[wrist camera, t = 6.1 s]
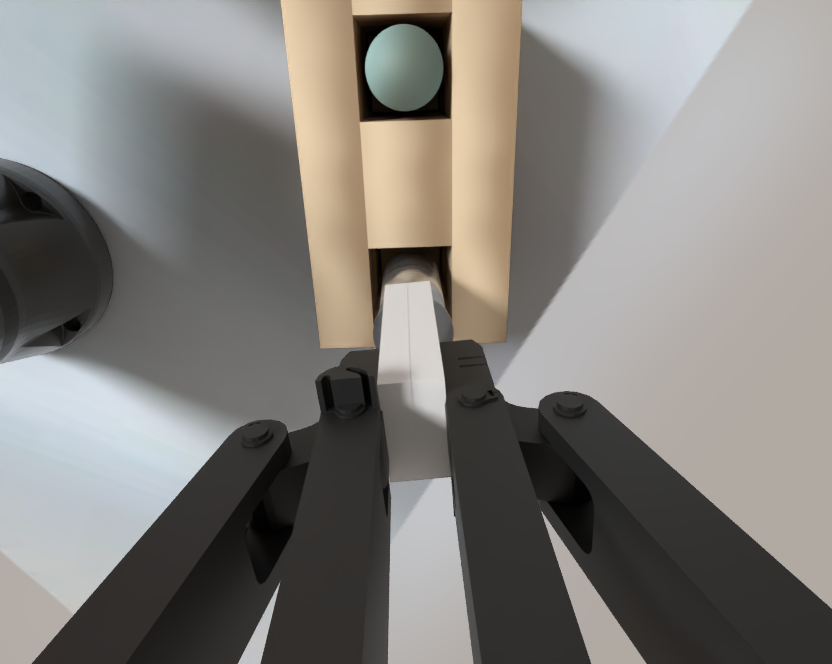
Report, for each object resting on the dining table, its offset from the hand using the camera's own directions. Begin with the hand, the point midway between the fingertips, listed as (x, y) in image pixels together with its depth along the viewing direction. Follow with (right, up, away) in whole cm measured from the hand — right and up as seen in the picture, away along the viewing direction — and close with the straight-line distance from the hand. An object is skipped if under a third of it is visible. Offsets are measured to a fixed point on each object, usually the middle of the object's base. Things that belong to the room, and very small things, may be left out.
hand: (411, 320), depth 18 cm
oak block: (0, +12, +21) cm, 24 cm away
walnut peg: (-1, +17, +18) cm, 25 cm away
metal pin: (0, +3, +16) cm, 17 cm away
